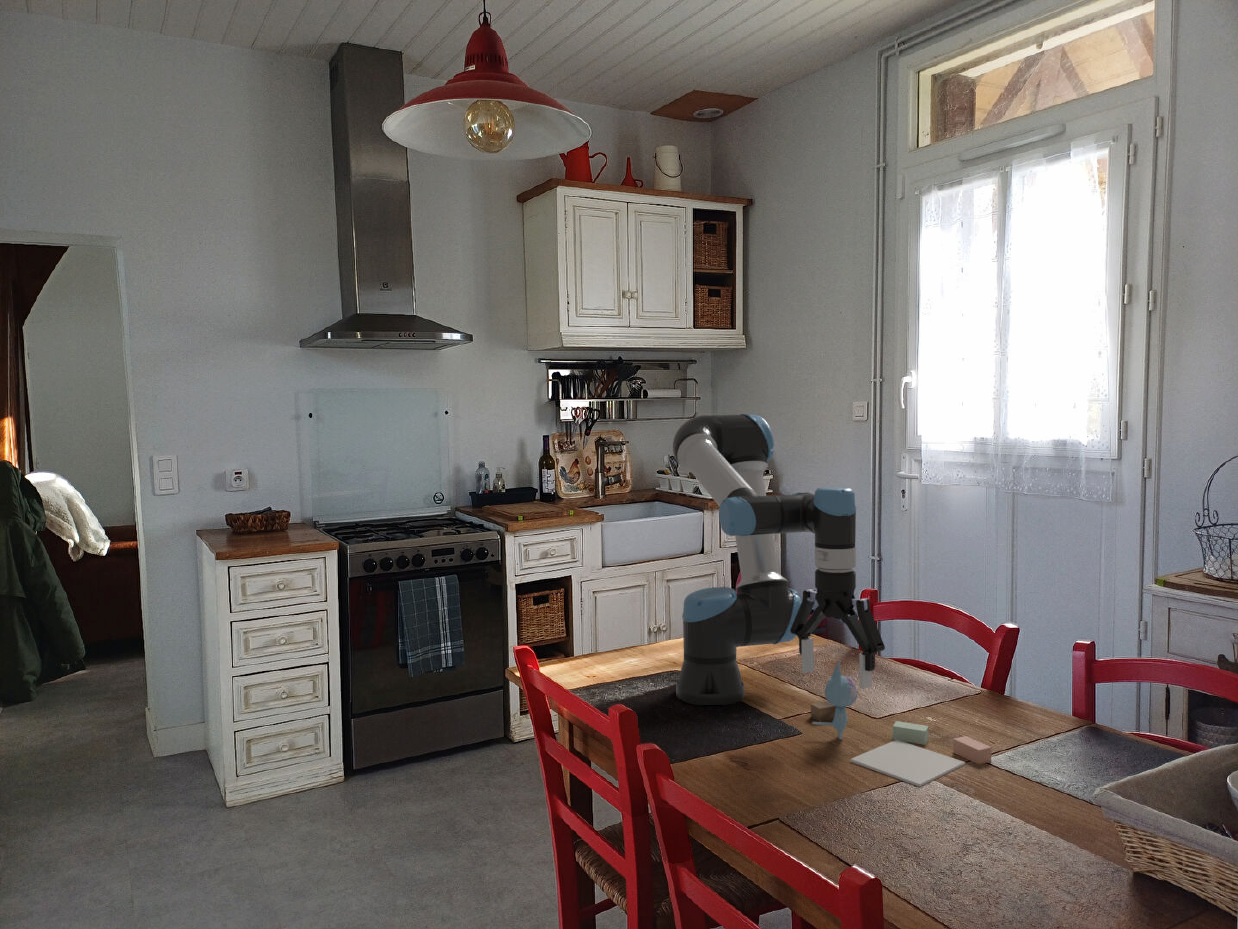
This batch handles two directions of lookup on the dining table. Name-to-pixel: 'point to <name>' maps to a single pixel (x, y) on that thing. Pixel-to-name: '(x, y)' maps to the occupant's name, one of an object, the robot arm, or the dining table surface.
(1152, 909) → the dining table surface
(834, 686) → the toy
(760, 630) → the robot arm
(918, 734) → the brick
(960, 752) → the brick
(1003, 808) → the dining table surface
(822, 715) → the brick
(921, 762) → the tile
